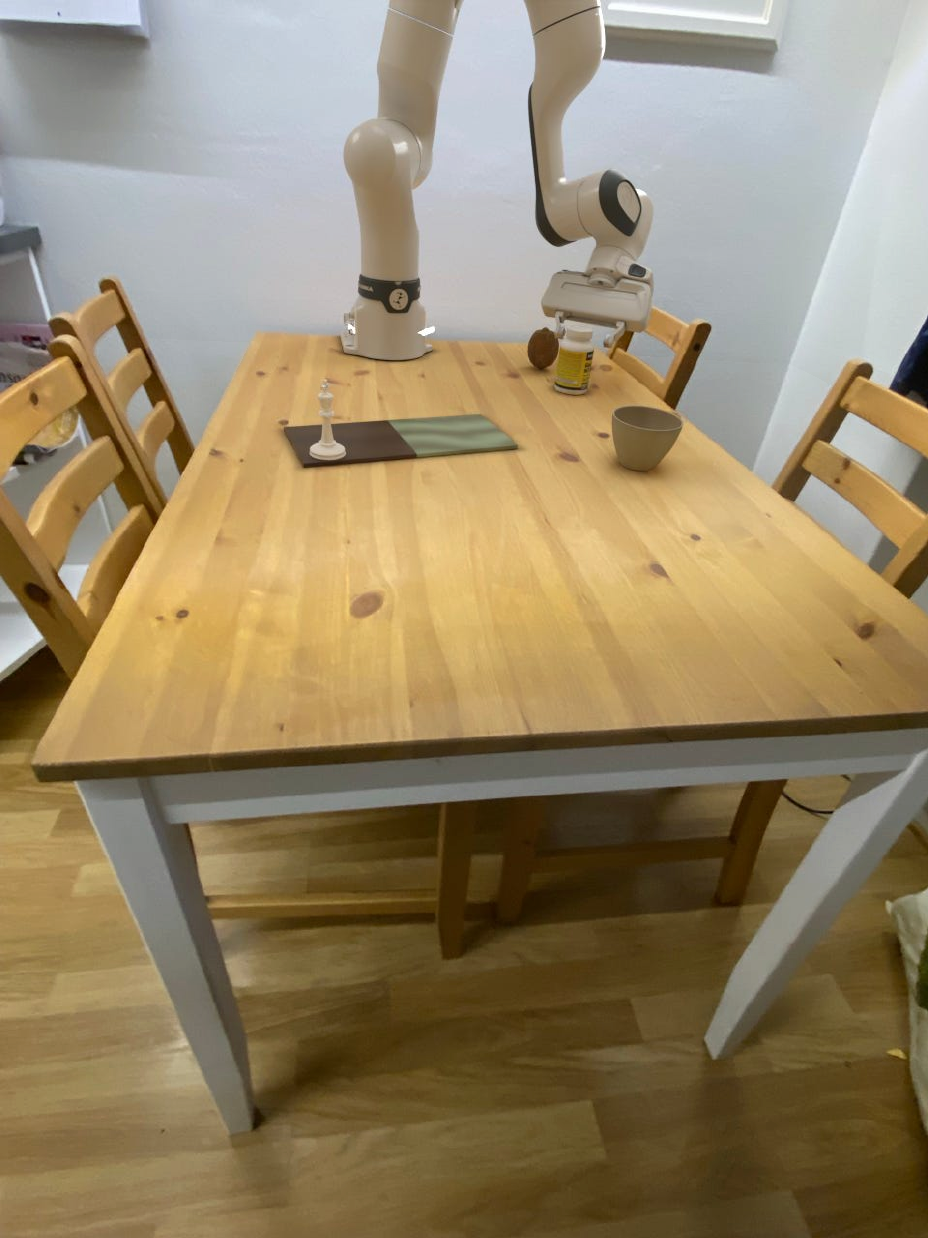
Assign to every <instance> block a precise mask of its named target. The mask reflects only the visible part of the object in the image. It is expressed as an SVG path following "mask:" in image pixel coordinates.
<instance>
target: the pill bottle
mask: <svg viewBox="0 0 928 1238" xmlns="http://www.w3.org/2000/svg"><path fill="white" fill-rule="evenodd" d="M565 331H566V333H565V336H566V338H563V339H562V340H561V342H560V343H559V351H558V356H557V358H558V359H557V364H556V372H555V377H554V385H553V386H554V387H553V388H554V389H555V391H557V392H559V393H561V394H565V395H570V396H571V395H572V396H577V395H578V396H580V395H583V394H585V393H586V392H587V391H588V386H589V381H590V375H591V370H592V363H593V358H594V354H595V353H594V352H595V345H594V343H593V342H592V341H591V340H592V338H593V333H594V330H593V328H591V327H588V326H585V325H584V326H583V325H568V326H567V327H566V330H565Z"/></svg>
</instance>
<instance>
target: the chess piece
mask: <svg viewBox="0 0 928 1238" xmlns="http://www.w3.org/2000/svg"><path fill="white" fill-rule="evenodd" d="M329 388H331V384H330V383H329V382H328V379H322V385H320V391H322V392H320V393H318V395H317V397H318V401H319V404H320V407H321V410H319V411H318V413H317V415H318V416H319V417H322V424H321V425H322V436H321V440H320V441H319V443H316V444H314V445H312V446H311V447H310V455H311V456H312V457H314V458H316V459H320V460H337V459H340V458H343V457H344V456H345V455H346V452H345V447H344V446H343V445H341V444H339V443H336V441H335V440H334V439H333V434H332V428H331V424H332V421H331V417H334V416H335V411H334V410H331V407H332V403H333V400H334V394H332V393H330V392H329V390H328V389H329Z"/></svg>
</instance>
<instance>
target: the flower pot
mask: <svg viewBox="0 0 928 1238" xmlns="http://www.w3.org/2000/svg"><path fill="white" fill-rule="evenodd" d="M683 427H684V420H683V419H682V418H681V417H679V416H678V415H677V414H675V413H673V412H670V411H668V410H665V409H661V408H658V407H652V406H647V405H637V404H635V405H623V406H618V407H616V408H614V409H613V411H612V412H611V434H612V435H611V436H612V441H613V447H614V450H615V453H616V456H617V460H618V461H619V463H620V465H621V466H623V467H624V468H626V469H629V470H631V471H637V472H648V471H651V470H654V468H656V467H657V466H658V465H659V464H660V463H661V462H662V461H663V459H664V458H665V457H666V456H667V455H668V454H669V452H670V451H671V450H672V448H673V447H674V445H675V443H676V442H677V439H678V438H679V436H680V434H681V433H682V429H683Z"/></svg>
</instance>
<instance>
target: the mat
mask: <svg viewBox="0 0 928 1238" xmlns="http://www.w3.org/2000/svg"><path fill="white" fill-rule="evenodd" d="M331 428H332V434H333V439H334V440H335V441H336V443H339V444H341V445H343V446H344V447H345V452H346V455H345V456H344V457H343V458H340V459H337V460H320V459H316V458H314V457H312V456H311V455H310V447H311V446H312V445H314V444H316V443H319V441H320V440H321V436H322V424H312V425H311V424H310V425H295V426H284V427H283V432H284V434H285V435H286V437H287V439H288V441H289V444H290V445H291V447H292V449H293V451H294V452H295V454H296V456H297V458H298V459H299V462H300V464H301V465H302V467H303V468H314V467H325V466H337V465H349V464H350V465H351V464H359V463H360V464H361V463H371V462H372V463H373V462H381V461H382V462H383V461H393V460H394V461H395V460H405V459H416V458H427V457H428V458H429V457H440V456H450V455H451V456H452V455H462V454H472V453H485V452H494V451H496V452H497V451H506V450H507V451H508V450H518V448H519V444H517V443H516V442H515V441H514V440H513V439H511V438H510V437H509V435H507V434H505V433H504V432H503V431H502V430H501V429H499V428H498V427H497V426H496V425H495V424H493V423H492V422H491V421H490V420H489V419H488V418H486V417H485V416H484V415H483V414H481V413H474V414H457V415H443V416H430V417H415V418H414V417H413V418H412V417H411V418H400V419H399V418H398V419H385V420H384V419H383V420H370V421H355V422H354V421H353V422H339V423H331Z"/></svg>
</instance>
